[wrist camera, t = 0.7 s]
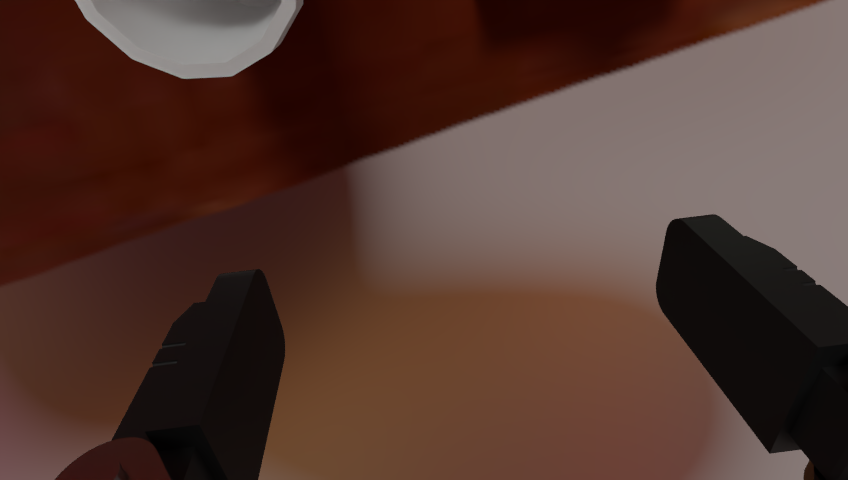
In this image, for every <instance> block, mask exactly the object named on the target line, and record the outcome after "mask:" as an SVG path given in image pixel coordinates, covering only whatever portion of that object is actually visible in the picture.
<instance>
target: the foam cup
mask: <svg viewBox="0 0 848 480" xmlns="http://www.w3.org/2000/svg"><path fill="white" fill-rule="evenodd" d="M75 1H76V3H77V4H78V6H79V8H80V10H81V11H82V13H83V15H84V17H85V18H86V19H87V20H88V21H89V22H90V23H91V24H92V25H93V26H95V27H96V28H97V29H98V30H99V31H100V32H101V33H103V34H104V35H105V36H106V37H107V38H108V39H110V40H111V41H112V42H113V43H114V44H115V45H116V46H118V47H119V48H120V49H121V50H122V51H123V52H124V53H126V54H127V55H128V56H129V57H130V58H131V59H133V60H135V61H138V62H141V63H143V64H146V65H149V66H151V67H154V68H156V69H159V70H162V71H164V72H167V73H169V74H172V75H175V76H177V77H180V78H182V79H190V78H210V77H230V76H233V75H235V74H237V73H238V72H240V71H242V70H243V69H245V68H247V67H248V66H250V65H252V64H253V63H255V62H257V61H258V60H260V59H262V58H263V57H265V56H266V55H268V54H270V53H271V52H272V51H274V50H275V49H276V48H277V47H278V46H279V45H280V44H281V42H282V41H283V39H284V37H285V35H286V34H287V32H288V30H289V28H290V26H291V25H292V23H293V21H294V19H295V18H296V16H297V14H298V12H299V11H300V9H301V7H302V5H303V0H75Z"/></svg>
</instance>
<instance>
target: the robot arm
mask: <svg viewBox="0 0 848 480" xmlns="http://www.w3.org/2000/svg"><path fill="white" fill-rule="evenodd" d="M656 293H657V298H658V302H659V305H660V307H661V309H662V312H663V313H664V314H665V316H666V317H667V318H668V320H669V321H670V322H671V324H672V325H673V326H674V328H675V329H676V330H677V332H678V333H679V334H680V336H681V337H682V338H683V340H684V341H685V342H686V343H687V345H688V346H689V348H690V349H691V350H692V351H693V353H694V354H695V355H696V357H697V358H698V359H699V361H700V362H701V363H702V365H703V366H704V367H705V369H706V370H707V371H708V372H709V374H710V375H711V377H712V378H713V379H714V380H715V382H716V383H717V385H718V386H719V387H720V388H721V390H722V391H723V392H724V394H725V395H726V396H727V398H728V399H729V400H730V402H731V403H732V404H733V406H734V407H735V408H736V410H737V411H738V412H739V413H740V415H741V416H742V417H743V419H744V420H745V421H746V423H747V424H748V426H749V427H750V428H751V429H752V431H753V432H754V433H755V434H756V436H757V437H758V439H759V440H760V441H761V443H762V444H763V445H764V447H765V448H766V449H767V451H768V452H769V453H777V452H785V451H792V450H799V449H801V450H802V451H803V452H804V454H805V455H806V456H807V457H808V458H809V462H808V464H807V466H806V468H805V470H804V480H848V306H846V305H845V304H844V303H842V302H841V301H840V300H839V299H838V298H836V297H835V296H834V295H833V294H831V293H830V292H829V291H827V290H826V289H825V288H824V287H822V286H821V285H816V284H815V280H813V279H812V278H811V277H810V276H808V275H807V274H806V273H805V272H803V271H802V270H797V266H796V265H795V264H793V263H792V262H791V261H789V260H788V259H787V258H786V257H784V256H783V255H782V254H781V253H779V252H778V251H777V250H775V249H774V248H771V247H769V246H767V245H765V244H763V243H760V242H758V241H756V240H754V239H752V238H750V237H747V236H743V235H742V234H740V233H739V232H738V231H737V230H735V229H734V228H733V227H732V226H731V225H729V224H728V223H727V222H726V221H724V220H723V219H722V218H721V217H719V216H717V215H704V216H696V217H688V218H679V219H674V220H672V221H671V222H670V224H669V225H668V228H667V231H666V236H665V241H664V246H663V251H662V256H661V262H660V266H659V271H658V277H657V282H656ZM284 357H285V339H284V333H283V329H282V325H281V322H280V319H279V316H278V313H277V310H276V307H275V304H274V301H273V298H272V295H271V292H270V289H269V286H268V283H267V280H266V277H265V275H264V273H263V272H262V271H261V270H260V269H256V270H248V271H239V272H231V273H223V274H220V275H218V277H217V278H216V280H215V282H214V284H213V287H212V289H211V291H210V293H209V295H208V297H207V299H206V301H205V302H199V303H194V304H193V305H192V306H191V307H189V308H188V309H187V310H186V311H185V312H184V313H183V314H182V315H181V316H180V317H179V318H178V319H177V320H176V321H175V322H174V323H173V324H172V326H171V328H170V330H169V332H168V334H167V336H166V338H165V340H164V342H163V343H162V349H159V351H158V353H157V355H156V357H155V359H154V361H153V362H152V364H153V367H151V368H149V370H148V372H147V374H146V376H145V378H144V380H143V382H142V383H141V385H140V387H139V389H138V391H137V393H136V395H135V397H134V399H133V401H132V403H131V404H130V406H129V408H128V410H127V412H126V414H125V416H124V418H123V419H122V421H121V423H120V425H119V427H118V429H117V431H116V433H115V435H114V437H113V438H112V440H111V441H109V442H106V443H103V444H101V445H99V446H97V447H95V448H93V449H91V450H89V451H88V452H86V453H84V454H83V455H81V456H80V457H78V458H77V459H76V460H74V461H73V462H72V463H71V464H69V465H68V466H67V467H66V468H65V469H64V470H63V471H62V472H61V473H60V474H59V475H58V476H57V477H56V479H55V480H258V477H259V473H260V468H261V464H262V459H263V455H264V450H265V445H266V441H267V436H268V432H269V427H270V423H271V418H272V413H273V409H274V404H275V400H276V395H277V390H278V386H279V382H280V377H281V372H282V368H283V363H284Z"/></svg>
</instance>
